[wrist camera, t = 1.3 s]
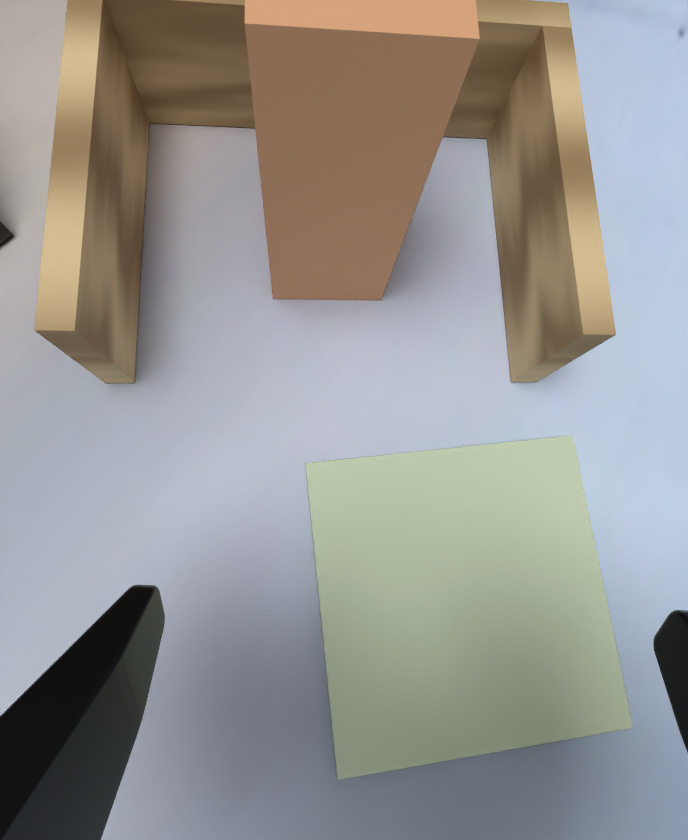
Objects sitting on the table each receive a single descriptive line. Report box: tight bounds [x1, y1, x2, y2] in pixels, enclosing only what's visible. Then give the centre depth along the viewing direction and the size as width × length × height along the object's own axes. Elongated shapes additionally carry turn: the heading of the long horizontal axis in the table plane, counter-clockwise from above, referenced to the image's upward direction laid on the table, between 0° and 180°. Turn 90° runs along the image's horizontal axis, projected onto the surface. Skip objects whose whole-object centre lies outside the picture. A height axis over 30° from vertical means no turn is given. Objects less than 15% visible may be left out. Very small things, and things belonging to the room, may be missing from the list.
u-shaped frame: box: [34, 0, 616, 383], centre depth 21 cm, size 14×19×6 cm
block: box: [245, 0, 480, 300], centre depth 17 cm, size 5×5×13 cm
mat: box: [305, 435, 633, 780], centre depth 21 cm, size 12×12×1 cm
